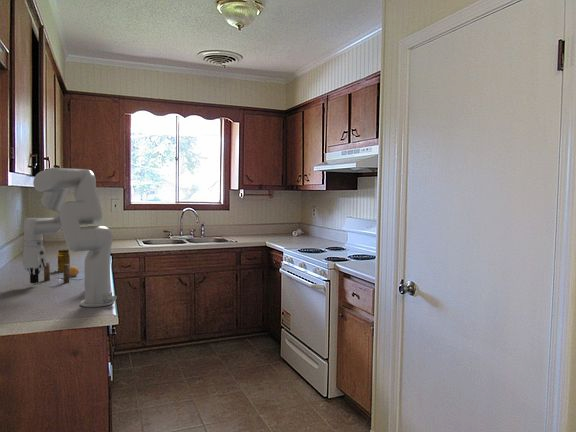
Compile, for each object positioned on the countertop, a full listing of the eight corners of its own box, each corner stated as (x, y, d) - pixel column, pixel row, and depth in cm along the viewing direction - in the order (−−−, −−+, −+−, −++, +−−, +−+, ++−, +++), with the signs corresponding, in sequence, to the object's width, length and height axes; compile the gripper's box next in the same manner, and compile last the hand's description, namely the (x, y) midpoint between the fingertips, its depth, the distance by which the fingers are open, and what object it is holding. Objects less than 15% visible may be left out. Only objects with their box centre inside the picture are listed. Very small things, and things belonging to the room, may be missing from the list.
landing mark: (98, 275, 239) (98, 275, 239) (78, 280, 225) (78, 279, 225) (78, 273, 243) (78, 273, 243) (57, 277, 230) (57, 277, 230)
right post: (70, 282, 220) (70, 264, 219) (66, 283, 217) (66, 265, 217) (66, 281, 221) (66, 263, 220) (62, 282, 218) (62, 264, 218)
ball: (77, 265, 233) (72, 274, 229) (82, 270, 237) (77, 279, 234) (68, 263, 234) (63, 273, 230) (73, 268, 238) (68, 278, 235)
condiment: (54, 271, 249) (54, 250, 248) (67, 269, 257) (67, 248, 256) (63, 272, 246) (63, 251, 245) (76, 270, 254) (76, 249, 253)
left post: (51, 280, 224) (50, 262, 223) (46, 281, 221) (46, 263, 221) (47, 279, 225) (46, 262, 224) (42, 280, 222) (42, 262, 222)
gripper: (52, 243, 209) (53, 282, 210) (28, 242, 214) (29, 280, 214) (38, 245, 202) (39, 285, 203) (14, 244, 207) (15, 283, 207)
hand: (34, 282), depth 209 cm, fingers closed
